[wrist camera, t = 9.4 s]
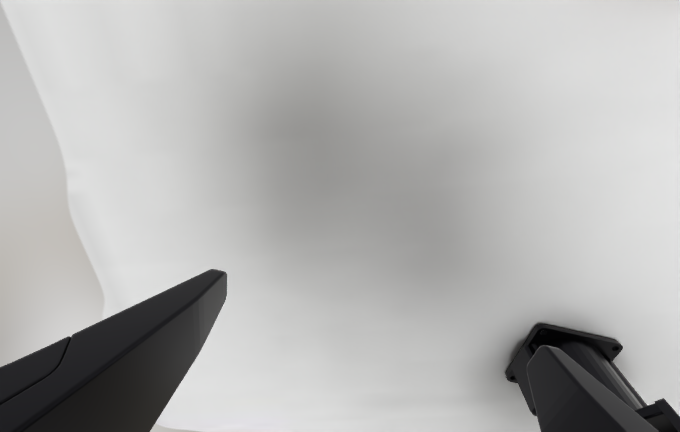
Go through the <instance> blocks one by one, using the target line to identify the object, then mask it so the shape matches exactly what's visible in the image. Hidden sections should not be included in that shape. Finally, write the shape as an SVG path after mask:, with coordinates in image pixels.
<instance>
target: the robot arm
mask: <svg viewBox="0 0 680 432" xmlns="http://www.w3.org/2000/svg"><path fill="white" fill-rule="evenodd" d="M226 296H227V274H226V272H224V271H220V270H216V269H211V270H208V271H206V272H204V273H202V274H200V275H198V276H196V277H193V278H191V279H189V280H187V281H185V282H183V283H181V284H179V285H177V286H174V287H172V288H170V289H168V290H166V291H164V292H162V293H160V294H158V295H155V296H153V297H151V298H149V299H147V300H145V301H143V302H141V303H138V304H136V305H134V306H132V307H130V308H128V309H126V310H124V311H122V312H119V313H117V314H115V315H113V316H111V317H109V318H107V319H105V320H102V321H100V322H98V323H96V324H94V325H92V326H90V327H88V328H86V329H83V330H81V331H79V332H77V333H75V334H73V335H72V337H66V338H64V339H62V340H60V341H58V342H56V343H54V344H51V345H50V346H47V347H45V348H43V349H41V350H38V351H36V352H34V353H32V354H29V355H27V356H25V357H23V358H21V359H18V360H16V361H14V362H12V363H10V364H7V365H5V366H2V367H0V432H150V430H151V429H152V427H153V425H154V424H155V422H156V421H157V419H158V418H159V416H160V414H161V413H162V411H163V410H164V408H165V407H166V405H167V403H168V402H169V400H170V399H171V397H172V395H173V394H174V392H175V391H176V389H177V387H178V386H179V384H180V383H181V381H182V380H183V378H184V376H185V375H186V373H187V372H188V370H189V368H190V367H191V365H192V364H193V362H194V361H195V359H196V357H197V356H198V354H199V352H200V351H201V349H202V347H203V345H204V343H205V341H206V339H207V337H208V335H209V333H210V331H211V329H212V327H213V325H214V323H215V321H216V318H217V316H218V314H219V312H220V310H221V308H222V306H223V304H224V302H225V300H226ZM622 349H623V346H622V345H621V344H620V343H619V342H618V341H617V340H614V339H609V338H604V337H600V336H595V335H591V334H586V333H582V332H577V331H573V330H568V329H564V328H559V327H555V326H550V325H546V324H539V325H537V326H536V327H535V328H534V329H533V331H532V333H531V334H530V336H529V337H528V339H527V340H526V342H525V343H524V345H523V346H522V348H521V350H520V351H519V353H518V354H517V356H516V357H515V359H514V360H513V362H512V363H511V365H510V366H509V368H508V370H507V371H506V373H505V375H506V378H507V380H508V381H510V382H514V383H518V384H519V386H520V388H521V391H522V393H523V395H524V397H525V400H526V402H527V404H528V407H529V409H530V411H531V413H532V414H533V415H534V416H537V417H538V422H539V425H540V429H541V432H680V416H679V415H678V414H677V413H676V412H675V411H674V409H673V408H672V407H671V406H670V405H669V404H668V403H667V402H666V400H665V399H664V398H663V399H660V400H658V401H655V404H652V405H649V406H647V404H646V403H645V402H644V401H643V399H642V398H641V397H640V396H639V394H638V393H637V392H636V391H635V389H634V388H633V387H632V386H631V384H630V383H629V382H628V381H627V379H626V378H625V377H624V376H623V374H622V373H621V372H620V371H619V369H618V368H617V367H616V366H615V364H614V363H613V362H612V361H613V360H614V358H615V357H616V356H617V355H618V354H619V353H620V352H621V350H622Z"/></svg>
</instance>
